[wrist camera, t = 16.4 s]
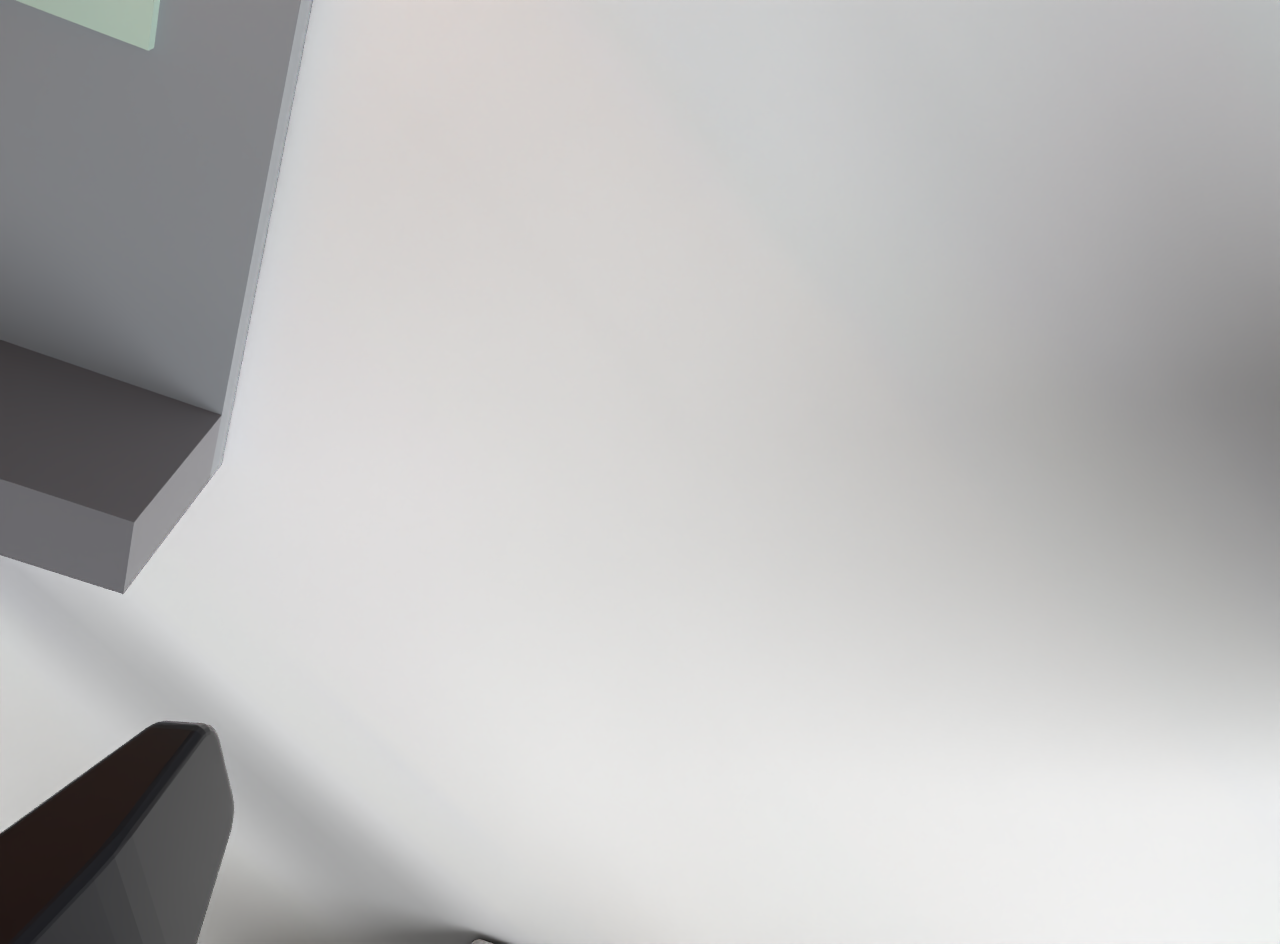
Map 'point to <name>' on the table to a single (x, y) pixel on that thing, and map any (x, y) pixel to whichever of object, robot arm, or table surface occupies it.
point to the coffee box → (480, 942)
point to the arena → (129, 260)
